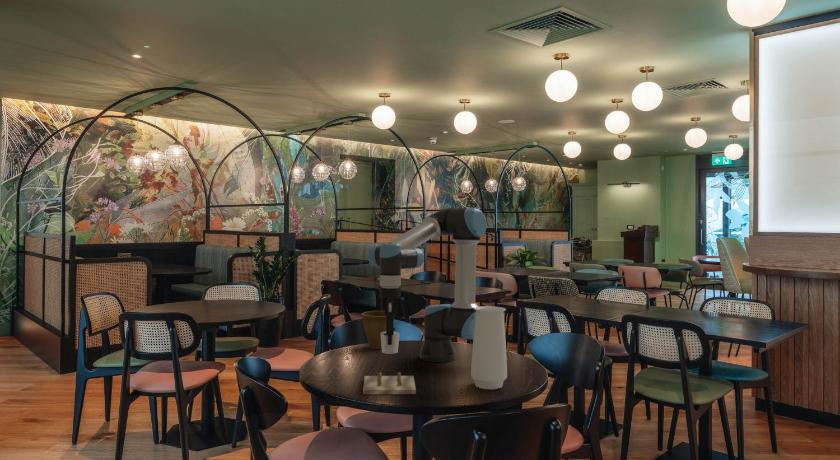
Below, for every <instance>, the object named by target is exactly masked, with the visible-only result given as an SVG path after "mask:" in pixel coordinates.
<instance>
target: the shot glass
mask: <svg viewBox="0 0 840 460" xmlns="http://www.w3.org/2000/svg"><path fill="white" fill-rule="evenodd" d="M393 332H394V334H393V335H394V345H393V354H397V353H398V352H399V351H398V350H399V344H400V343H399V342H400V335H401V332H399V331H396V330H393ZM384 333H386V331H383V332H381V333H380V335H381V347H382V349H381V353H383V354H386V335H384ZM393 354H392V355H393Z"/></svg>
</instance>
